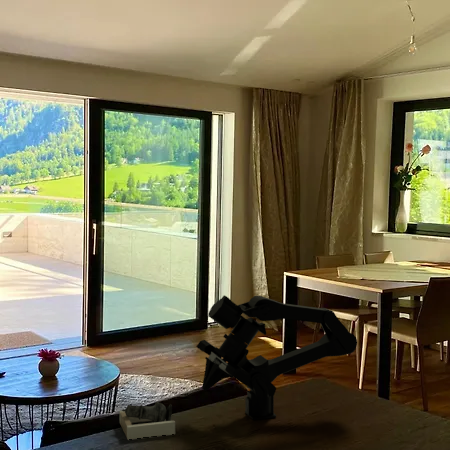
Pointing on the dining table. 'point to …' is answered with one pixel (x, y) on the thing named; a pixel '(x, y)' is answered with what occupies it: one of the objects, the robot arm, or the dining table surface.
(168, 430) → the white shallow tray
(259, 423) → the dining table surface
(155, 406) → the salt shaker
